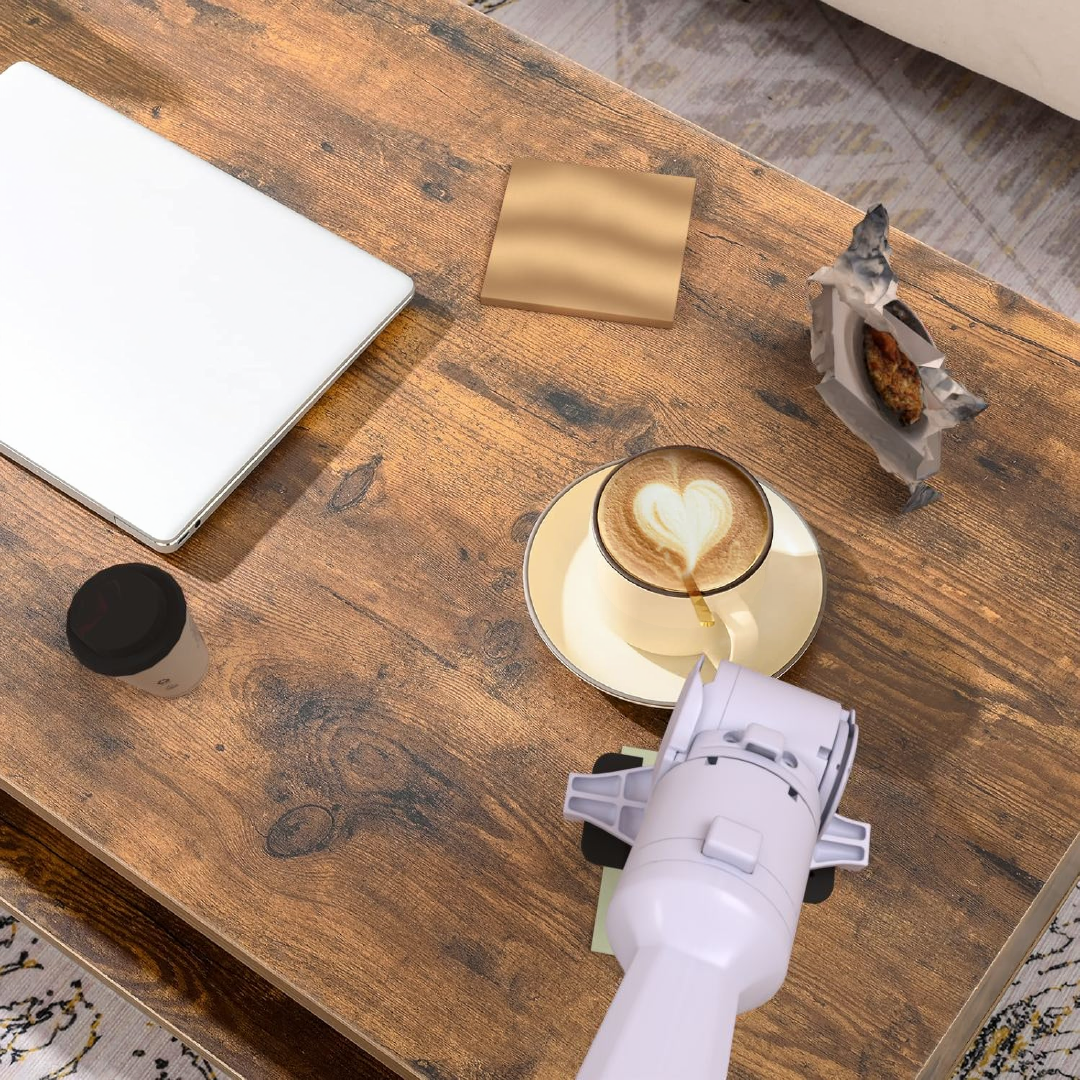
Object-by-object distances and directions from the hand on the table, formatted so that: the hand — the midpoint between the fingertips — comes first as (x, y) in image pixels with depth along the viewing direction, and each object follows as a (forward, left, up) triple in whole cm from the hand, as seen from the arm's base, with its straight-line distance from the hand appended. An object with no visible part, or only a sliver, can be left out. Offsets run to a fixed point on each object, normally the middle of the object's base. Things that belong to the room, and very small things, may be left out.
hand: (698, 848), depth 64 cm
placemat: (0, 0, -5) cm, 5 cm away
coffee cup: (+6, +34, -5) cm, 35 cm away
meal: (+31, -8, -5) cm, 33 cm away
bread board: (+43, +13, -5) cm, 45 cm away
